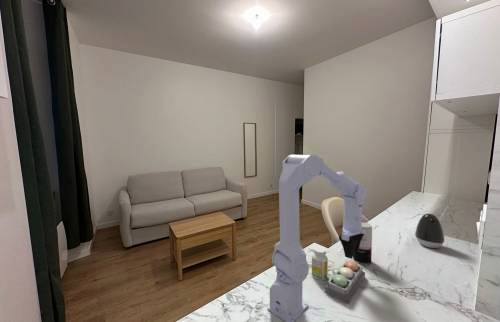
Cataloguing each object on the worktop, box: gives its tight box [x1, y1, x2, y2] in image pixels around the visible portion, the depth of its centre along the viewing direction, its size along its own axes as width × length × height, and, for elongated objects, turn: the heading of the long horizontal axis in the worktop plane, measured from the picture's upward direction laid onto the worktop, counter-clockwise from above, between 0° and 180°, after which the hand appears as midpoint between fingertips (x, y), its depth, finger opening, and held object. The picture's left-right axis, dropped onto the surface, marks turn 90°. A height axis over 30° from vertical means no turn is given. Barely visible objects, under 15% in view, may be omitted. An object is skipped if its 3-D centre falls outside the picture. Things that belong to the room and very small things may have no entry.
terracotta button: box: [344, 260, 359, 272], centre depth 70 cm, size 4×4×2 cm
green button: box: [332, 273, 347, 287], centre depth 62 cm, size 4×4×2 cm
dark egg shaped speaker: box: [414, 213, 445, 249], centre depth 93 cm, size 10×10×15 cm
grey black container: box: [352, 221, 373, 265], centre depth 81 cm, size 7×6×15 cm
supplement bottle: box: [311, 246, 329, 281], centre depth 71 cm, size 5×5×10 cm
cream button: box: [339, 266, 353, 279], centre depth 66 cm, size 4×4×2 cm
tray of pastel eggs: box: [324, 262, 366, 305], centre depth 66 cm, size 17×7×4 cm, turn 136°
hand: (351, 253), depth 70 cm, fingers open, 6 cm apart
